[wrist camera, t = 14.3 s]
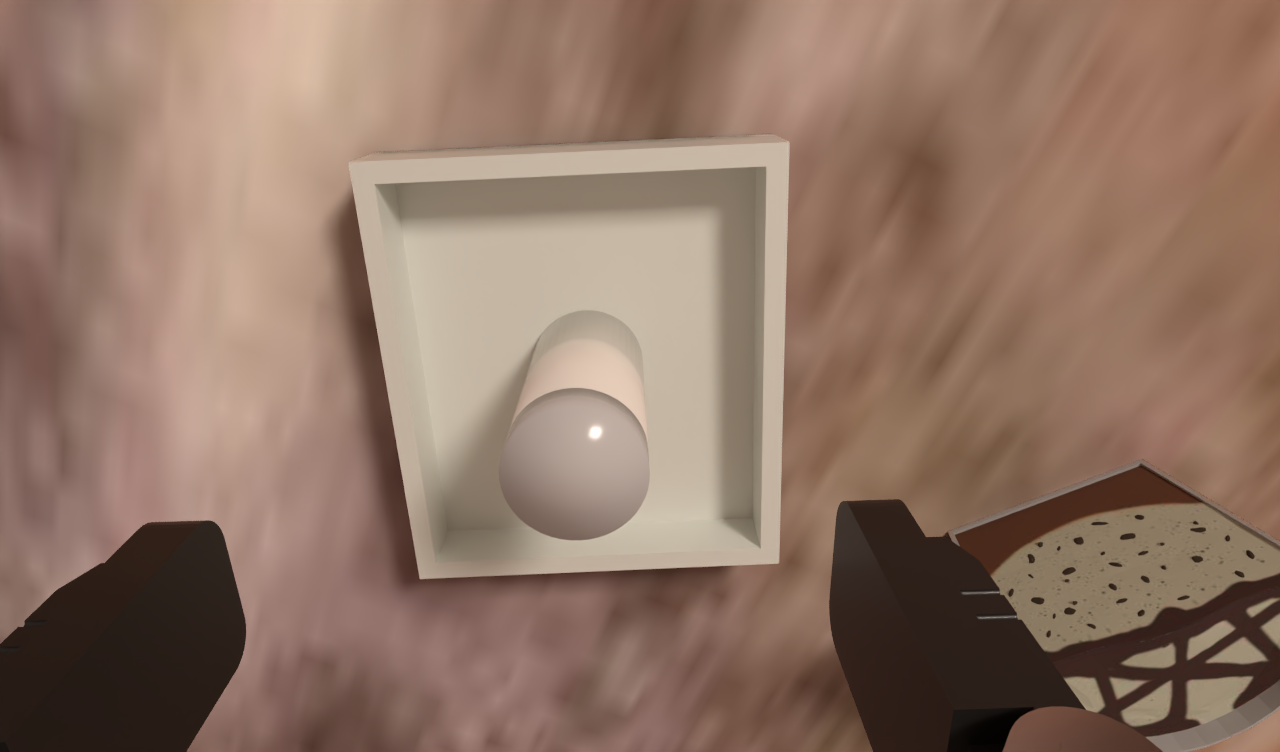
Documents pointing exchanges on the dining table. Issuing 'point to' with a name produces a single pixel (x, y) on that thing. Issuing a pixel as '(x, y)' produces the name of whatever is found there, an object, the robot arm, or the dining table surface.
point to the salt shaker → (579, 431)
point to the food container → (1144, 601)
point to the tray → (574, 281)
